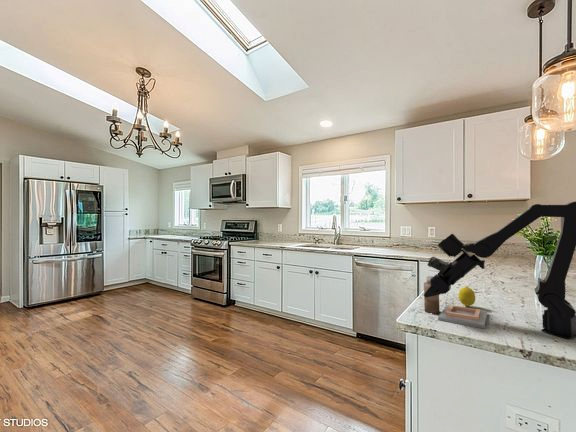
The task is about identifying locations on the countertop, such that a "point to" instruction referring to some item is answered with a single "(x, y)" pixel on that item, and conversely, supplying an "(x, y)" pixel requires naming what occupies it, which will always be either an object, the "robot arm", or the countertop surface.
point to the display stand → (464, 316)
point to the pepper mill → (431, 299)
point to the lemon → (466, 296)
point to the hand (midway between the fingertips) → (427, 293)
